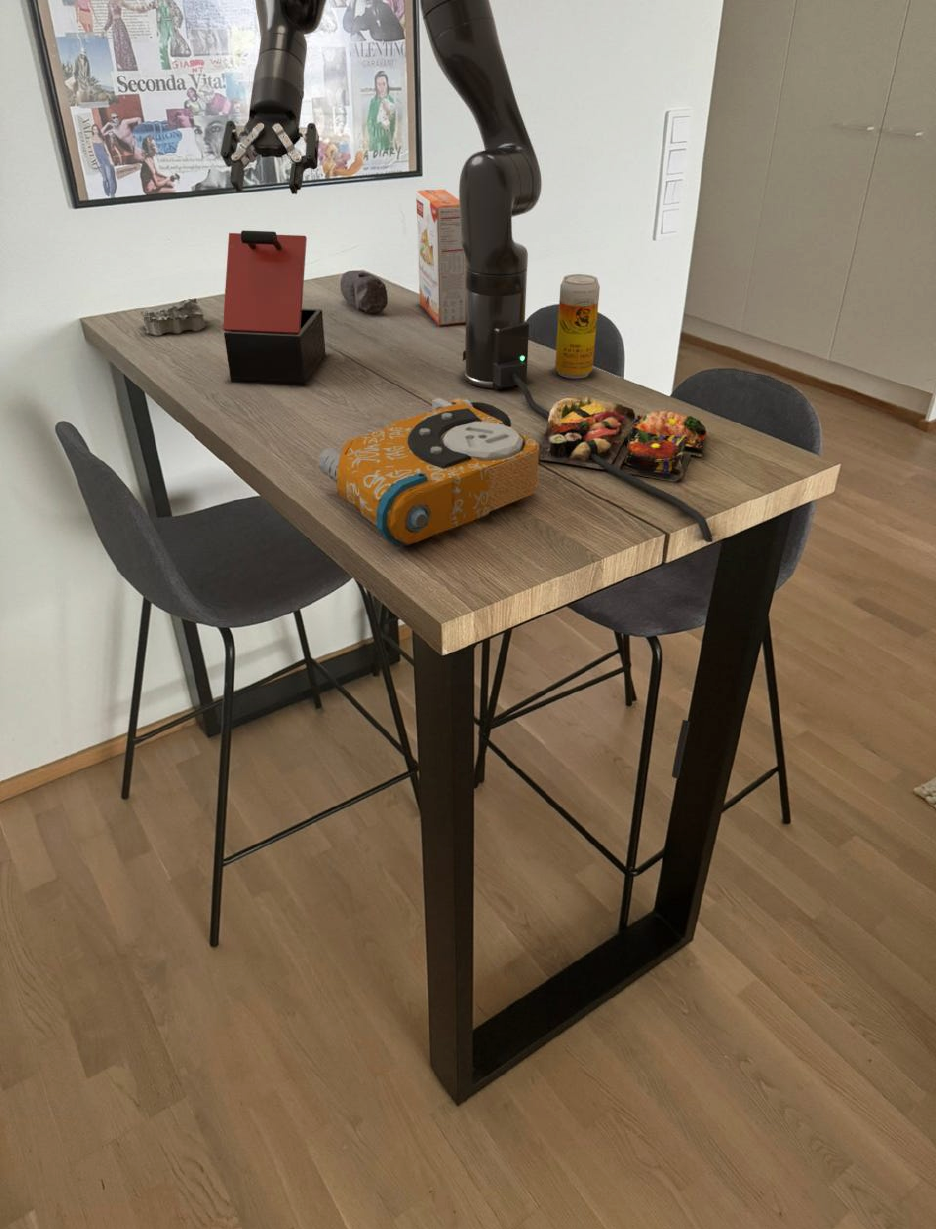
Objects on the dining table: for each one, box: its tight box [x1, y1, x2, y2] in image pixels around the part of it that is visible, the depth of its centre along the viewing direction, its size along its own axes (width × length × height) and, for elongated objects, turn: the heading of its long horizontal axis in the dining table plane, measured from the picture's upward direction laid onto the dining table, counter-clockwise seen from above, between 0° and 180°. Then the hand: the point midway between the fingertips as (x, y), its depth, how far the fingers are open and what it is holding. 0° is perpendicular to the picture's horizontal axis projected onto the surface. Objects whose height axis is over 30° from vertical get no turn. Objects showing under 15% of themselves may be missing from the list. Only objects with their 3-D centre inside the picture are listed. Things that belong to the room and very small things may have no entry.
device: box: [317, 397, 540, 547], centre depth 111 cm, size 23×8×30 cm
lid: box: [222, 229, 308, 334], centre depth 135 cm, size 15×12×5 cm
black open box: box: [223, 308, 327, 386], centre depth 145 cm, size 14×12×8 cm
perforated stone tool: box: [340, 270, 389, 314], centre depth 173 cm, size 15×5×7 cm, turn 31°
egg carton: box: [140, 298, 206, 337], centre depth 163 cm, size 11×8×4 cm
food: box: [538, 395, 707, 483], centre depth 123 cm, size 22×19×4 cm
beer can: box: [554, 273, 601, 379], centre depth 142 cm, size 6×6×15 cm
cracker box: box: [415, 189, 466, 327], centre depth 166 cm, size 14×6×21 cm, turn 17°
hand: (265, 189), depth 133 cm, fingers open, 8 cm apart
